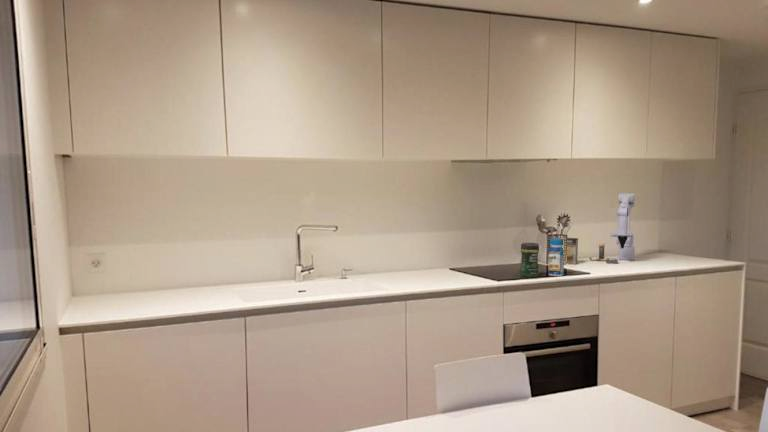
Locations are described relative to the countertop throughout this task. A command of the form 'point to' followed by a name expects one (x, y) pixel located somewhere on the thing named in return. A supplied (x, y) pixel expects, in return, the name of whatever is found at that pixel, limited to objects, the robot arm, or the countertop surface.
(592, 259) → the board
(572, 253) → the coffee box
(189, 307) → the countertop surface
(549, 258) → the blue labeled canister
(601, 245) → the marker
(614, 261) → the button housing
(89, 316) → the countertop surface
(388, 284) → the countertop surface
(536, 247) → the coffee jar
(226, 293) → the countertop surface
